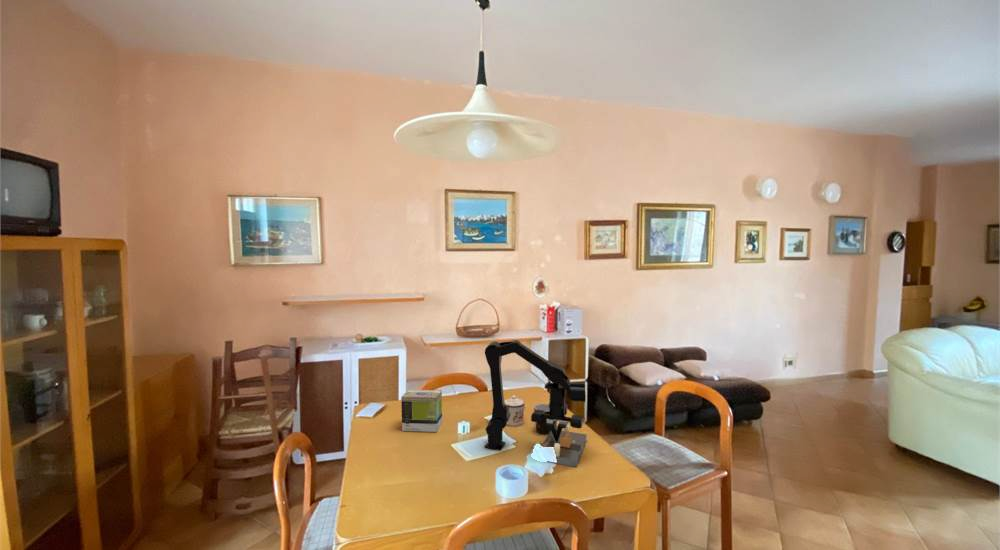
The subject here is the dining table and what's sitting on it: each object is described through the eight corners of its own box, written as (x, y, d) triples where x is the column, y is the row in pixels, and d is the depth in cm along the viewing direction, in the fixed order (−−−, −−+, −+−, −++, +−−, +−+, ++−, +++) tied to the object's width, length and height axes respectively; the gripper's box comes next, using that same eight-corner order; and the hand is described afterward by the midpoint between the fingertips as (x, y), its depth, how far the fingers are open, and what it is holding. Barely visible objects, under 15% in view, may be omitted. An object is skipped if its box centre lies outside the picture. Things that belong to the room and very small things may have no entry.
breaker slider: (569, 448, 152) (569, 438, 151) (560, 446, 153) (560, 436, 153) (571, 443, 155) (571, 434, 155) (562, 442, 156) (562, 432, 156)
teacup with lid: (515, 428, 175) (515, 401, 174) (498, 422, 181) (499, 396, 180) (532, 420, 184) (532, 394, 183) (516, 414, 190) (516, 389, 189)
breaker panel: (576, 467, 143) (576, 459, 143) (537, 460, 148) (537, 452, 148) (586, 440, 164) (586, 434, 164) (551, 435, 169) (551, 428, 169)
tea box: (442, 423, 180) (442, 389, 180) (436, 433, 170) (436, 397, 170) (408, 421, 182) (408, 388, 181) (401, 431, 172) (400, 396, 171)
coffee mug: (553, 436, 167) (554, 412, 167) (532, 434, 169) (532, 410, 168) (555, 425, 179) (556, 402, 178) (535, 423, 180) (535, 400, 180)
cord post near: (559, 457, 145) (559, 445, 145) (553, 456, 146) (553, 445, 146) (560, 454, 147) (560, 443, 147) (554, 453, 148) (555, 442, 148)
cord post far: (568, 437, 161) (568, 427, 161) (563, 436, 162) (563, 426, 162) (569, 435, 163) (569, 425, 163) (564, 434, 164) (564, 424, 163)
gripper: (586, 396, 159) (585, 436, 159) (538, 390, 165) (538, 428, 166) (581, 406, 148) (580, 448, 149) (530, 399, 155) (530, 440, 155)
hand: (557, 441), depth 155 cm, fingers closed
